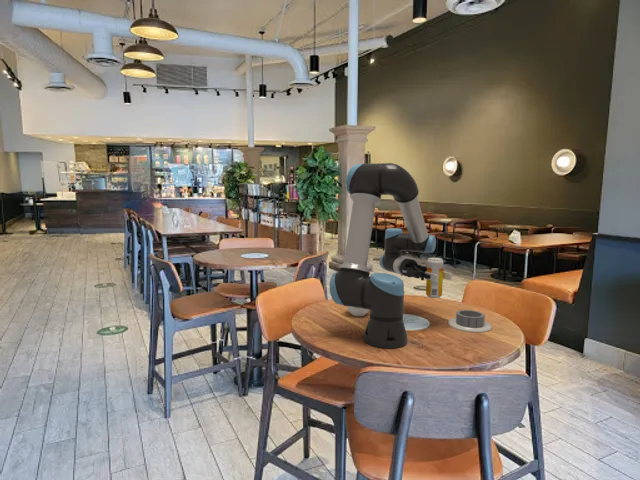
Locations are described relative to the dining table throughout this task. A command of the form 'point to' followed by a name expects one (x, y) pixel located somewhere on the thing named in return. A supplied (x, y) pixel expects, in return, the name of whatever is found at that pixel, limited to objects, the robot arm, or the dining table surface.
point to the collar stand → (470, 321)
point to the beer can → (437, 268)
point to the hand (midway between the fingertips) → (444, 277)
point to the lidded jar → (357, 311)
